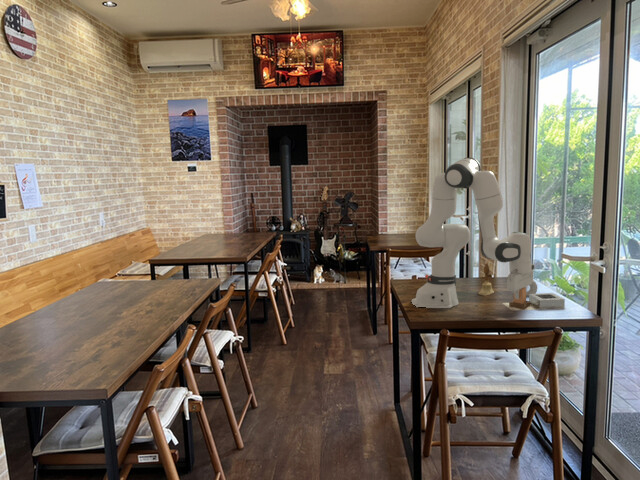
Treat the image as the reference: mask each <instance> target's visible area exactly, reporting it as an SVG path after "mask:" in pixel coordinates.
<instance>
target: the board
mask: <svg viewBox="0 0 640 480" xmlns="http://www.w3.org/2000/svg"><path fill="white" fill-rule="evenodd" d="M501 304H502V305H503V306H505V307H506V308H508V309H509V310H511V311H512V312H513V311H529V310H531V311H533V310H535V311H536V310H540V309H539V308H537V307H536V306H534V305H532V304H531V303H530V306H529V307H527V308H525V309H521V308H515V307H509V302H502V303H501ZM559 309H561V310H562V309H563V308H551V309H550V310H559Z"/></svg>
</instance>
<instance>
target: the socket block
mask: <svg viewBox="0 0 640 480" xmlns="http://www.w3.org/2000/svg"><path fill="white" fill-rule="evenodd" d="M528 301H530V303H531V304H532V305H534V306H536V307H537V308H539V309H538V310H552V309H551V308H562V309H566V307H565V306H566V305H565V301H566V299H565V298H564V297H562V296H559V295H557V294H555V293H553V292H543V293H540V292H539V293H536V294H529V296H528Z"/></svg>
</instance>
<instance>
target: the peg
mask: <svg viewBox="0 0 640 480" xmlns="http://www.w3.org/2000/svg"><path fill="white" fill-rule="evenodd" d="M526 291H527V287H526V288H525V287H524V288H522V289H520V290H519V295H520V298H519V299H515V295H514V294H513V300H514V303H520V304H524V303H526V301H527V296H526Z"/></svg>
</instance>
